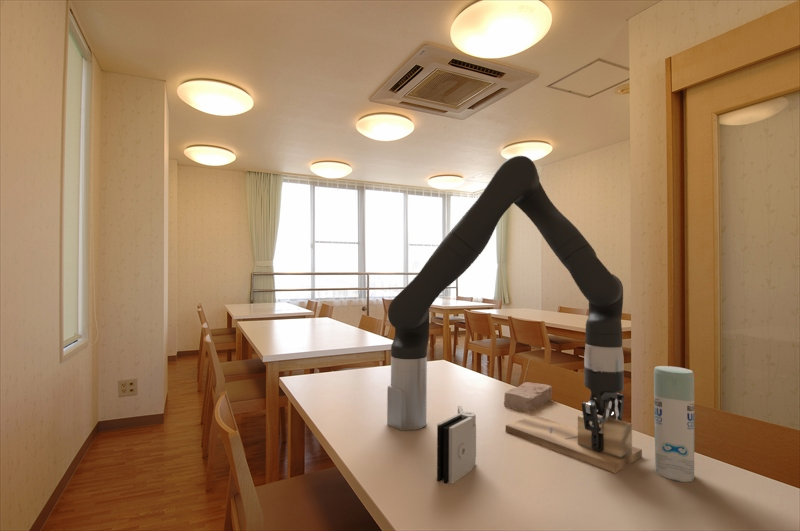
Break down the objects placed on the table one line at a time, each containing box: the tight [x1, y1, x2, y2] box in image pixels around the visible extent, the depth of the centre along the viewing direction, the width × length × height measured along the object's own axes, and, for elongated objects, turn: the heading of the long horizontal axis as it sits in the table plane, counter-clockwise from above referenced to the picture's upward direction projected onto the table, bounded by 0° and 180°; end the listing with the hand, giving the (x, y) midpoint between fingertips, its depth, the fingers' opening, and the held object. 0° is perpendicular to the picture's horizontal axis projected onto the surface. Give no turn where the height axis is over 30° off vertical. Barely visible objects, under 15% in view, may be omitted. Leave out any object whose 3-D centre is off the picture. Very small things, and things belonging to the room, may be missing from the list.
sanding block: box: [577, 413, 633, 459], centre depth 86 cm, size 5×9×6 cm, turn 37°
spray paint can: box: [653, 365, 695, 483], centre depth 78 cm, size 6×6×20 cm
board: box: [505, 415, 643, 474], centre depth 92 cm, size 12×26×2 cm, turn 37°
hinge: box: [436, 405, 477, 485], centre depth 80 cm, size 14×5×10 cm, turn 153°
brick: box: [503, 381, 553, 413], centre depth 122 cm, size 17×8×5 cm, turn 138°
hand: (604, 446), depth 86 cm, fingers closed on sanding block, 5 cm apart
